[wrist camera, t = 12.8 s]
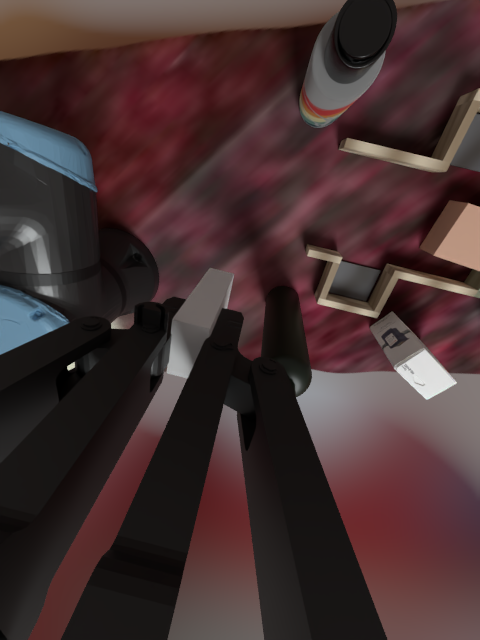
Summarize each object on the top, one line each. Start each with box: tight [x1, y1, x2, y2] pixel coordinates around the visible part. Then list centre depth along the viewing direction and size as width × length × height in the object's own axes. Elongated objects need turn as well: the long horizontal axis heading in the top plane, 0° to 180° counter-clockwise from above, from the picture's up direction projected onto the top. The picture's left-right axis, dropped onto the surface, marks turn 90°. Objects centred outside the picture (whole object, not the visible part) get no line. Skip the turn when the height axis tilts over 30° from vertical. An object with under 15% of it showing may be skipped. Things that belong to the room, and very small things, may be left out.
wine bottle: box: [261, 286, 312, 397], centre depth 35 cm, size 6×6×30 cm
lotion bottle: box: [299, 0, 397, 128], centre depth 26 cm, size 6×6×20 cm
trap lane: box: [305, 88, 480, 318], centre depth 38 cm, size 26×29×4 cm
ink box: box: [370, 312, 457, 400], centre depth 43 cm, size 8×5×12 cm, turn 49°
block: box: [420, 200, 480, 271], centre depth 38 cm, size 7×7×4 cm
